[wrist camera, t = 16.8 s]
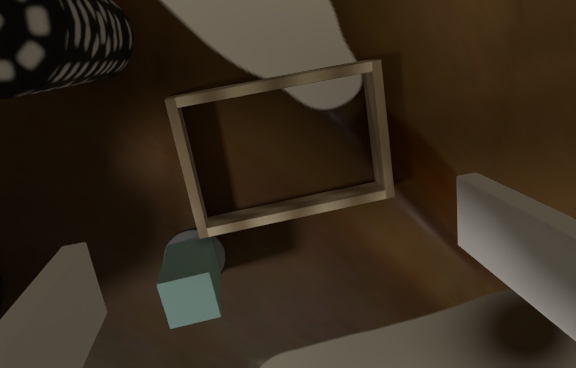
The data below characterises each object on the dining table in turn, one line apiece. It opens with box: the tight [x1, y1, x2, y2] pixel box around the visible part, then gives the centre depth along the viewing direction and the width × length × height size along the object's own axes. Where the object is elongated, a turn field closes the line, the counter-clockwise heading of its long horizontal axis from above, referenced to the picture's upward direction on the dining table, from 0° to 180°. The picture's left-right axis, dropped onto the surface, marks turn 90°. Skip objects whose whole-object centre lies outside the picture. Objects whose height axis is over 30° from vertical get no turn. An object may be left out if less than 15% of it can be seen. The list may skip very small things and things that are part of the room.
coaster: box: [163, 229, 225, 272], centre depth 51 cm, size 7×7×1 cm
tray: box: [165, 59, 395, 239], centre depth 48 cm, size 22×15×4 cm
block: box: [157, 237, 221, 329], centre depth 47 cm, size 5×5×9 cm
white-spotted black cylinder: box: [0, 0, 134, 99], centre depth 34 cm, size 8×8×20 cm
